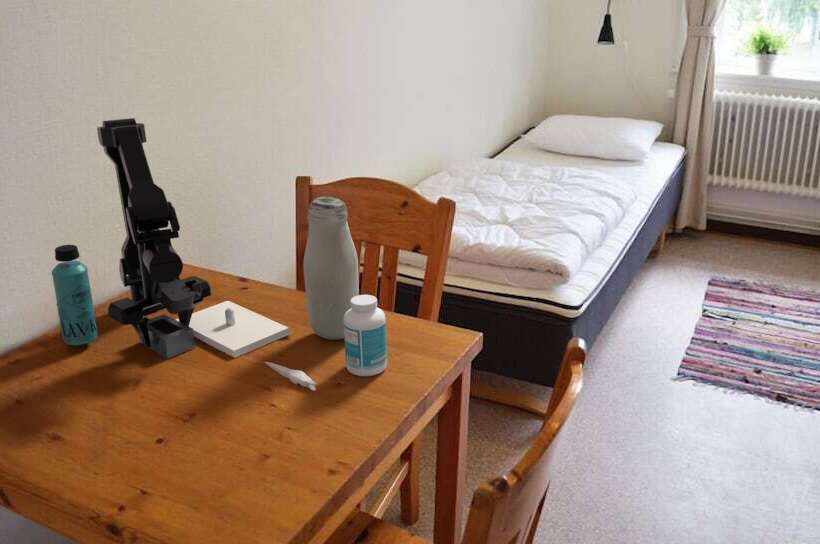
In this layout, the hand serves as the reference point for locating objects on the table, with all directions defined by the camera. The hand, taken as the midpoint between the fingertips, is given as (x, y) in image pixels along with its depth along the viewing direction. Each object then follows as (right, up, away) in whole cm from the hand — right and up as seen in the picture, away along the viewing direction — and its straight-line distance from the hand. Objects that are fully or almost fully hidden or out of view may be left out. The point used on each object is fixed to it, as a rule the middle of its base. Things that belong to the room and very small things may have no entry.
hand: (166, 340), depth 155 cm
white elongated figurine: (+25, -6, -11) cm, 28 cm away
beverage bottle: (-16, -1, +1) cm, 16 cm away
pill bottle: (+39, -5, -9) cm, 40 cm away
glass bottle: (+32, 0, +4) cm, 32 cm away
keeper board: (+11, +1, +6) cm, 13 cm away
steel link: (0, -1, 0) cm, 1 cm away
